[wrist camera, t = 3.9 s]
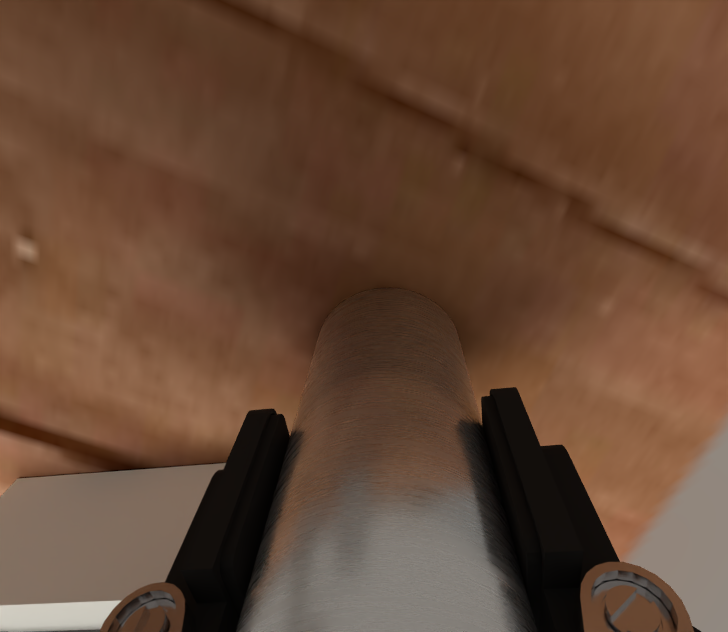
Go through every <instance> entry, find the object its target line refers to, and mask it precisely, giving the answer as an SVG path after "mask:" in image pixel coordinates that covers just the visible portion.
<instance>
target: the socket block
mask: <svg viewBox="0 0 728 632" xmlns="http://www.w3.org/2000/svg"><path fill="white" fill-rule="evenodd" d="M225 464H226V463H219V464H206V465H193V466H179V467H166V468H153V469H139V470H126V471H113V472H99V473H86V474H73V475H59V476H46V477H32V478H19V479H17V480H16V481H15V482H14V483H13V484H12V485H11V486H10V487H9V488H8V489H7V490H6V491H5V492H4V493H3V495H2V496H1V497H0V632H100V629H101V627H102V625H103V623H104V621H105V620H106V618H107V617H108V615H109V614H110V613H111V611H112V610H113V609H114V608H115V607H116V606H117V605H118V604H119V603H120V602H121V601H122V600H123V599H124V598H125V597H126V596H128V595H130V594H131V593H133V592H134V591H136V590H137V589H139V588H141V587H144V586H146V585H149V584H152V583H160V582H165V581H166V578H167V576H168V574H169V572H170V569H171V567H172V565H173V563H174V560H175V558H176V556H177V554H178V552H179V549H180V547H181V545H182V543H183V540H184V538H185V536H186V534H187V532H188V529H189V527H190V525H191V523H192V520H193V518H194V516H195V514H196V511H197V509H198V507H199V505H200V503H201V500H202V498H203V496H204V494H205V491H206V489H207V487H208V485H209V483H210V480H211V478H212V477H213V475H214V473H215V472H216V471H218V470H223V469H224V467H225Z"/></svg>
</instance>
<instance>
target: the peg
mask: <svg viewBox="0 0 728 632" xmlns="http://www.w3.org/2000/svg"><path fill="white" fill-rule="evenodd" d="M236 632H537V628H536V624H535V620H534V617H533V613H532V609H531V606H530V602H529V599H528V596H527V592H526V588H525V585H524V581H523V577H522V573H521V570H520V566H519V562H518V558H517V555H516V551H515V547H514V543H513V540H512V536H511V532H510V528H509V525H508V521H507V517H506V513H505V509H504V506H503V502H502V498H501V494H500V491H499V487H498V483H497V479H496V476H495V472H494V468H493V464H492V461H491V457H490V453H489V449H488V446H487V442H486V438H485V434H484V431H483V427H482V422H481V418H480V414H479V411H478V407H477V403H476V400H475V396H474V392H473V388H472V385H471V381H470V377H469V373H468V370H467V366H466V362H465V358H464V355H463V351H462V347H461V343H460V340H459V336H458V333H457V330H456V328H455V326H454V323H453V322H452V320H451V319H450V317H449V316H448V315H447V313H446V312H445V311H444V310H443V309H442V308H441V307H440V306H438V305H437V304H436V303H435V302H433V301H432V300H430V299H429V298H427V297H425V296H423V295H421V294H418V293H415V292H412V291H409V290H404V289H399V288H378V289H372V290H367V291H364V292H361V293H358V294H356V295H354V296H351V297H350V298H348V299H346V300H345V301H343V302H342V303H341V304H339V305H338V306H337V307H336V308H335V309H334V310H333V311H332V312H331V313H330V314H329V315H328V317H327V318H326V320H325V321H324V323H323V325H322V327H321V330H320V333H319V336H318V340H317V343H316V347H315V350H314V354H313V357H312V361H311V364H310V368H309V372H308V375H307V379H306V382H305V386H304V389H303V393H302V397H301V400H300V404H299V407H298V411H297V414H296V418H295V422H294V425H293V429H292V432H291V436H290V439H289V443H288V447H287V450H286V454H285V457H284V461H283V464H282V468H281V472H280V475H279V479H278V482H277V486H276V489H275V493H274V497H273V500H272V504H271V507H270V511H269V514H268V518H267V522H266V525H265V529H264V532H263V536H262V539H261V543H260V546H259V550H258V554H257V557H256V561H255V564H254V568H253V571H252V575H251V579H250V582H249V586H248V589H247V593H246V596H245V600H244V604H243V607H242V611H241V614H240V618H239V621H238V625H237V629H236Z"/></svg>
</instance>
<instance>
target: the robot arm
mask: <svg viewBox="0 0 728 632" xmlns="http://www.w3.org/2000/svg"><path fill="white" fill-rule="evenodd" d="M481 403H482V427H483V431H484V434H485V438H486V442H487V446H488V449H489V453H490V457H491V461H492V464H493V468H494V472H495V476H496V479H497V483H498V487H499V491H500V494H501V498H502V502H503V506H504V509H505V513H506V517H507V521H508V525H509V528H510V532H511V536H512V540H513V543H514V547H515V551H516V555H517V558H518V562H519V566H520V570H521V573H522V577H523V581H524V585H525V588H526V592H527V596H528V599H529V602H530V606H531V609H532V613H533V617H534V620H535V624H536V628H537V632H701V631H699V630H698V629H696V628H695V627H693V626H692V624H691V621H690V617H689V615H688V613H687V611H686V608H685V606H684V604H683V602H682V600H681V599H680V598H679V597H678V595H677V594H676V593H675V592H674V591H673V589H672V588H671V587H670V586H669V585H668V584H667V583H665V582H664V581H663V580H662V579H660V578H659V577H658V576H657V575H655V574H653V573H651V572H649V571H647V570H645V569H644V568H641V567H640V566H636V565H632V564H629V563H625V562H620V561H619V559H618V557H617V555H616V553H615V550H614V548H613V546H612V544H611V542H610V540H609V538H608V536H607V534H606V532H605V529H604V527H603V525H602V523H601V521H600V519H599V517H598V515H597V513H596V511H595V508H594V506H593V504H592V502H591V500H590V498H589V496H588V494H587V492H586V489H585V487H584V485H583V483H582V481H581V479H580V477H579V475H578V473H577V471H576V468H575V466H574V464H573V462H572V460H571V458H570V456H569V454H568V452H567V450H566V449H565V447H564V446H563V445H551V446H540V444H539V441H538V439H537V436H536V434H535V431H534V429H533V427H532V424H531V422H530V419H529V417H528V414H527V412H526V410H525V407H524V405H523V402H522V400H521V397H520V395H519V392H518V390H517V388H515V387H513V388H501V389H491V390H490V396H485V397H482V399H481ZM289 439H290V436H289V432H288V428H287V425H286V421H285V418H284V416H283V414H277V413H276V411H275V410H274V409H262V410H251V411H249V412H248V414H247V415H246V418H245V420H244V422H243V425H242V427H241V429H240V432H239V434H238V436H237V439H236V441H235V443H234V446H233V448H232V450H231V453H230V455H229V457H228V460H227V462H226V464H225V467H224V469H223V470H218V471H216V472H215V473H214V475H213V477H212V478H211V480H210V483H209V485H208V487H207V489H206V491H205V494H204V496H203V498H202V500H201V503H200V505H199V507H198V509H197V511H196V514H195V516H194V518H193V520H192V523H191V525H190V527H189V529H188V532H187V534H186V536H185V538H184V540H183V543H182V545H181V547H180V549H179V552H178V554H177V556H176V558H175V560H174V563H173V565H172V567H171V569H170V572H169V574H168V576H167V578H166V581H165V582H160V583H152V584H149V585H146V586H144V587H141V588H139V589H137V590H136V591H134V592H133V593H131V594H130V595H128V596H126V597H125V598H124V599H123V600H122V601H121V602H120V603H119V604H118V605H117V606H116V607H115V608H114V609H113V610H112V611H111V613H110V614H109V615H108V617H107V618H106V620H105V621H104V623H103V625H102V627H101V629H100V632H236V629H237V625H238V621H239V618H240V614H241V611H242V607H243V604H244V600H245V596H246V593H247V589H248V586H249V582H250V579H251V575H252V571H253V568H254V564H255V561H256V557H257V554H258V550H259V546H260V543H261V539H262V536H263V532H264V529H265V525H266V522H267V518H268V514H269V511H270V507H271V504H272V500H273V497H274V493H275V489H276V486H277V482H278V479H279V475H280V472H281V468H282V464H283V461H284V457H285V454H286V450H287V447H288V443H289Z"/></svg>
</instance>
